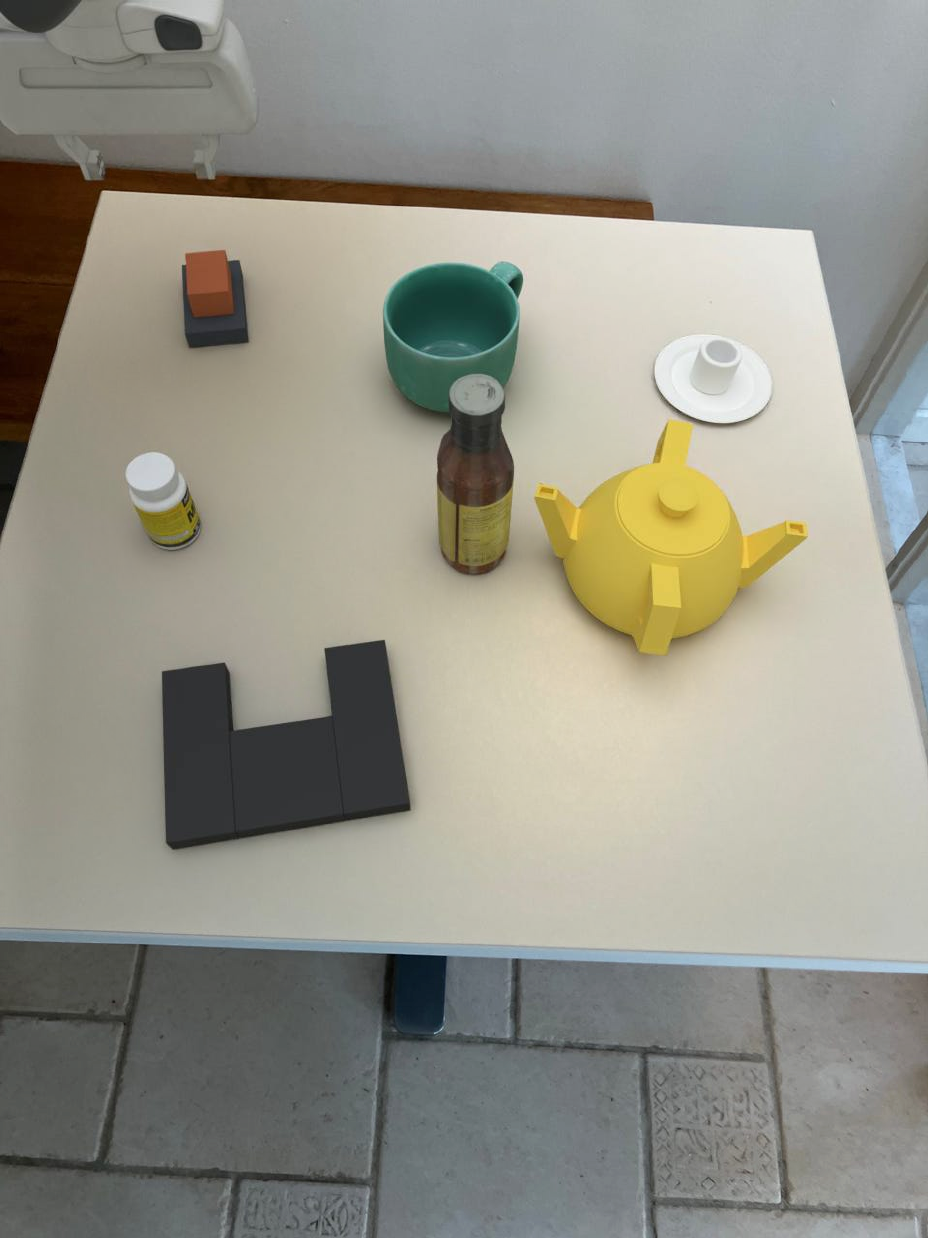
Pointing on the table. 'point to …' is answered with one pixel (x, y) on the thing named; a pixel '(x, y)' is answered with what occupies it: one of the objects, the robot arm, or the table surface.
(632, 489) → the teapot
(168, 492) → the supplement bottle
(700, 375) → the candle holder
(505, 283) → the mug
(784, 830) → the table surface
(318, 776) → the base pad
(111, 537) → the table surface
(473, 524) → the sauce bottle
